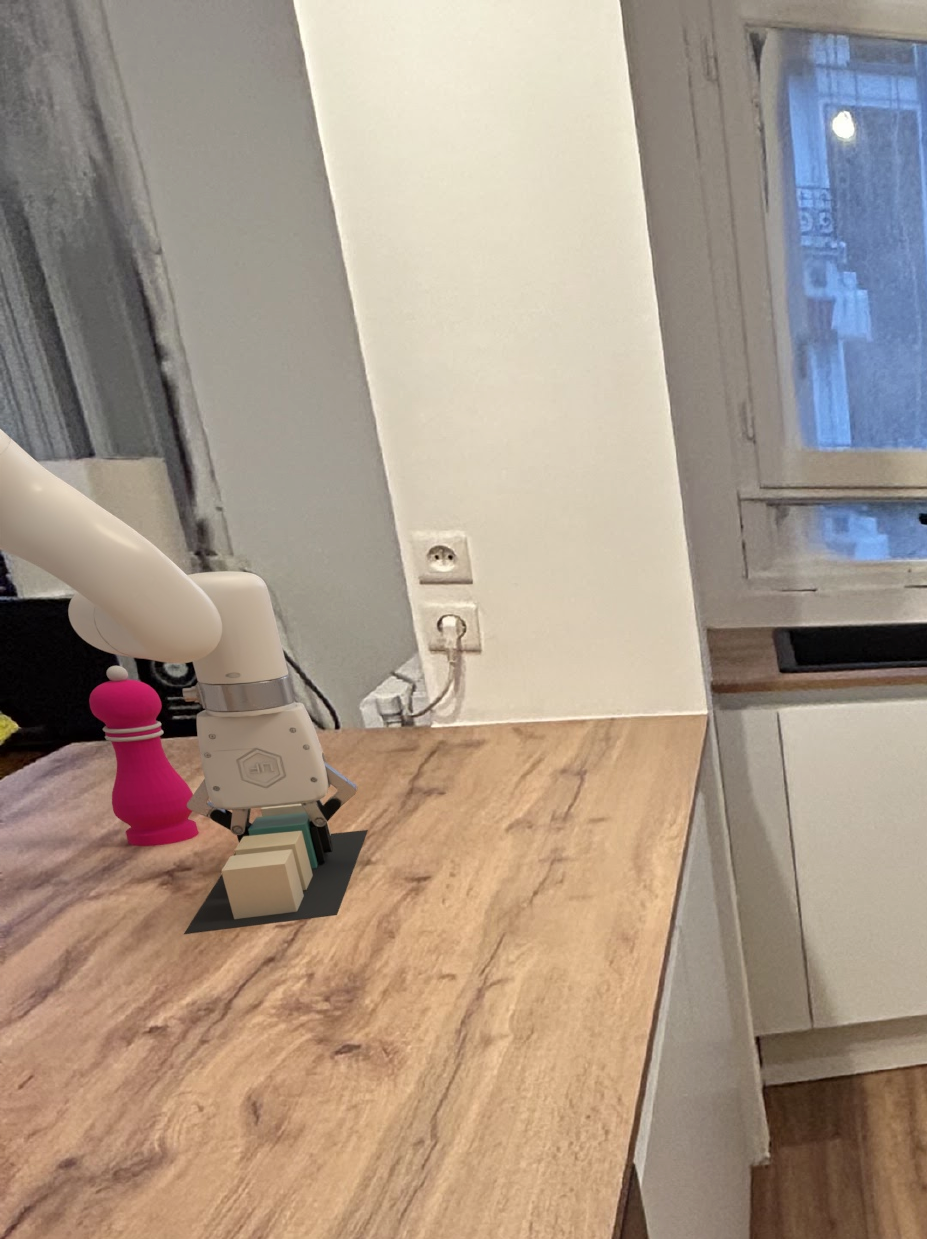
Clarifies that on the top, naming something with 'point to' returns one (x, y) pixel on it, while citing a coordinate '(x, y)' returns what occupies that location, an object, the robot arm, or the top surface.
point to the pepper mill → (142, 763)
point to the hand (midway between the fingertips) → (291, 861)
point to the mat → (317, 898)
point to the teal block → (286, 829)
